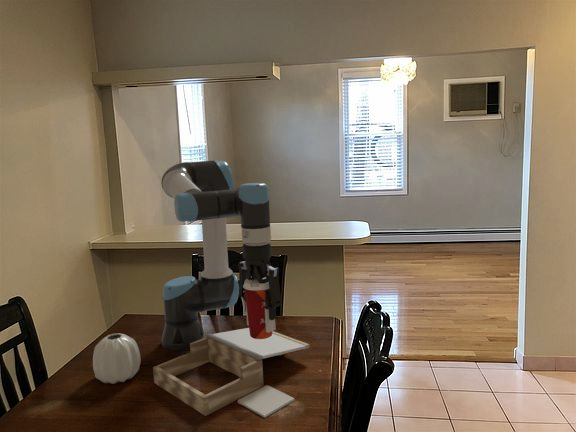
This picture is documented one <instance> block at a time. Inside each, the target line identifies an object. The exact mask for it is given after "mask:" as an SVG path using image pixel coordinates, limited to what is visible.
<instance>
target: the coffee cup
mask: <svg viewBox="0 0 576 432" xmlns="http://www.w3.org/2000/svg"><path fill="white" fill-rule="evenodd" d="M263 279H266V277H265V278H263ZM252 280H253V281H252ZM252 280H248V279H246V280H245V282H244V285H243V288H244V289H245V291H244V292H245V297H246V306H247V315H248V323H249V326H248V328H249V331H250V336H251V337H252V338H254V339H266V338H269V337H271V336H272V331H271V332H269V333H267V332H266V322H265V307H267V305H266V301H265V290H269V282H267V283H259V282H258V279H257V278H255V279H252ZM247 315H246V316H247Z"/></svg>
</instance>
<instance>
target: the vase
mask: <svg viewBox="0 0 576 432" xmlns="http://www.w3.org/2000/svg"><path fill="white" fill-rule="evenodd" d="M92 354H93V356H92V369H93V372H94V377H95V378H96V379H97V380H99V381H100V382H102V383H104V384H112V385H115V384H118V383H124V382H126V380H130V379H132V378H133V377H134V376H135V375H136V374H137V373H138V372H139V370H140V365H141V361H142V360H141V353H140V349H139V346H138V343H137V342H136V340H135V339H134V338H132V337H131V336H128V335H127V334H125V333H119V332H118V333H112V334H108V335H107V336H105V337H103V338H102V339H101V340H99V342H98V343H96V345H95V346H94V349H93V353H92Z"/></svg>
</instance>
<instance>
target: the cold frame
mask: <svg viewBox="0 0 576 432" xmlns="http://www.w3.org/2000/svg"><path fill="white" fill-rule="evenodd" d="M189 350H190V351H189V352H188V353H186V354H185V353H184V354H182V355H180V356H178V357H175V358H173V359H170V360H168V361H166V362H165V361H164V362H163V363H160V364H158V365H155V366H153V367H152V370H153V372H152V373H153V382H154V384H156V385H157V386H158V387H160V388H161V389H163V390H165V391H166V392H168V393H169V394H171V395H172V396H174V397H175V398H176V399H178V400H180V401H181V402H183V403H185V404H186V405H187V406H189V407H191V408H193V409H194V410H195V411H197V412H199V413H200V414H202V415H203V416H205V417H207V416H208V415H210V414H212V413H215V412H216V411H217V410H221V409H222V408H223V407H226V406H228V405H230V404H231V403H233V402H236V401H238V400H239V399H241V398H243V397H245V396H247V395H249V394H251V393H253V392H255V391H257V390H258V389H260V388H262V387H264V371H263V359H262V360H257V359H255V358H253V357H250V356H248V355H246V354H243V353H241V352H239V351H237V350H234V349H232V348H230V347H228V346H225V345H223V344H221V343H219V342H216V341H214V340H212V339H210V338H207V336H204V338H203V339H200V340H197V341H195V342H192V343H190V349H189ZM209 362H210V363H211V364H213V365H215V366H217V367H220V368H221V369H223V370H224V371H227V372H230V373H231V374H232V375H234V376H237V377H238V378H237V379H235V380H233V381H231V382H228V383H227V384H224V385H223V386H220V387H218V388H216V389H214V390H212V391H209V393H207V394H205V393H203V392H201V391H199V390H198V389H196V388H195V387H193V386H191V385H189V384H188V383H186V382H185V381H183V380H181V379H180V378H178V377H176V376H179V375H181V374H184V373H186V372H188V371H190V370H193V369H195V368H197V367H200V366H202V365H205V364H207V363H209Z"/></svg>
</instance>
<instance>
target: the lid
mask: <svg viewBox="0 0 576 432" xmlns="http://www.w3.org/2000/svg"><path fill="white" fill-rule="evenodd" d="M206 337H207V338H210V339H212V340H214V341H216V342H219V343H221V344H223V345H225V346H228V347H230V348H232V349H234V350H237V351H239V352H241V353H243V354H246V355H248V356H250V357H253V358H255V359H257V360H262V361H263V360H264V359H267V358H271V357H275V356H277V355H280V354H283V355H285V354H289V353H291V352H296V351H301V350H307V349H310V343H307V342H304V341H301V340H298V339H296V338H293V337H290V336H287V335H285V334H282V333H280V332H277V331H275V330H274V331H272V336H271V337H269V338H266V339H254V338H252V337H251V336H250V331H249V327H244V328H240V329H235V330H228V331H223V332H217V333H206ZM284 353H285V354H284Z"/></svg>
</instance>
